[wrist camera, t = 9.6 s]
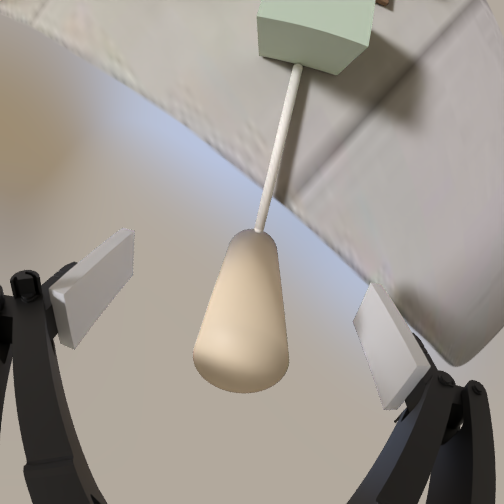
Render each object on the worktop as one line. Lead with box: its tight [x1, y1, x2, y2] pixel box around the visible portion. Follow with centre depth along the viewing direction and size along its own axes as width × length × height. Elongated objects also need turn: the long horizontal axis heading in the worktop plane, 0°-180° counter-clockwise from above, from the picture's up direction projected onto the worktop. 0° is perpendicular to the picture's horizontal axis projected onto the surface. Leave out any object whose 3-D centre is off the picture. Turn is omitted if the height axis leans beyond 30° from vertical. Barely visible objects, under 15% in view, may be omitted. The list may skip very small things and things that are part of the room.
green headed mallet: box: [193, 0, 375, 393], centre depth 12 cm, size 20×5×11 cm, turn 167°
